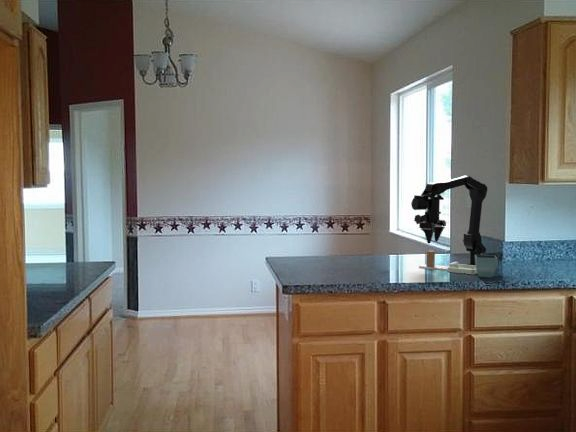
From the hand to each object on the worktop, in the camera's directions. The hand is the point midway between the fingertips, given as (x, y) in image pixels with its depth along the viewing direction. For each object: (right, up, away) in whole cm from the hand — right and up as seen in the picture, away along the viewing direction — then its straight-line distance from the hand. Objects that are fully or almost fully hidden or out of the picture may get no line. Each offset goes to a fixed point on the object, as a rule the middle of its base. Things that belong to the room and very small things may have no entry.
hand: (432, 242), depth 298 cm
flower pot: (+17, -14, -24) cm, 33 cm away
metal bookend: (+2, -12, -3) cm, 13 cm away
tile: (+12, -13, -9) cm, 20 cm away
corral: (+12, -13, -10) cm, 20 cm away
